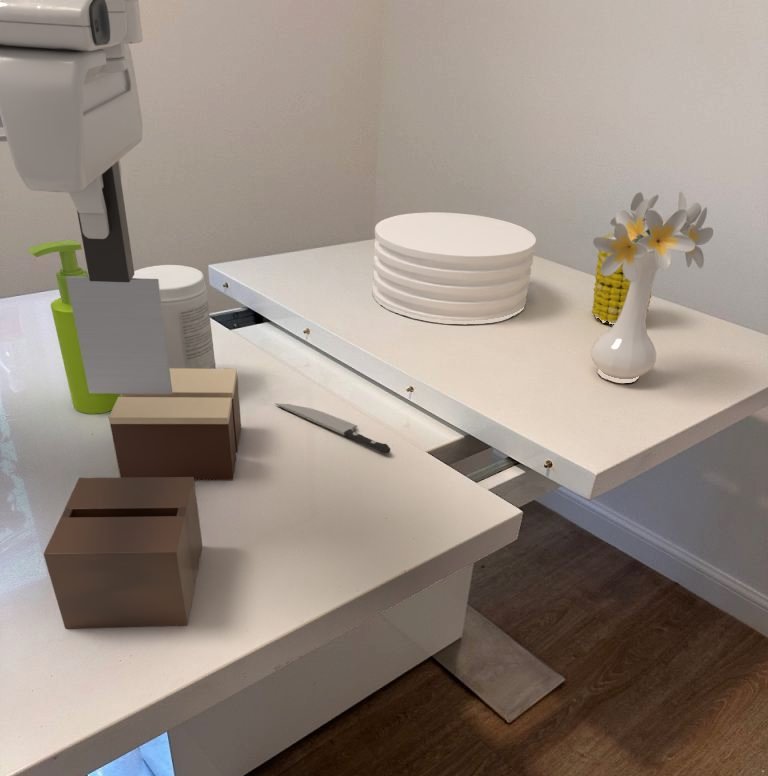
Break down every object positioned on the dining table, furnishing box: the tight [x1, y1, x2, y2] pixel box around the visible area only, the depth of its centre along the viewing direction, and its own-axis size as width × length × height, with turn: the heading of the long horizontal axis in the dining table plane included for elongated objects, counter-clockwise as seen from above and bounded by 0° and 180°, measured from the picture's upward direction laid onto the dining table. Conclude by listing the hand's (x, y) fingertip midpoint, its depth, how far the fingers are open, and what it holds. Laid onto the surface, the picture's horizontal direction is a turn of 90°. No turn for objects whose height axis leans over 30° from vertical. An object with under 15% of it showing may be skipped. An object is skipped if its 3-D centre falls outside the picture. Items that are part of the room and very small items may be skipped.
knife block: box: [43, 476, 203, 629], centre depth 62 cm, size 10×11×8 cm
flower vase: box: [589, 190, 714, 379], centre depth 99 cm, size 13×18×25 cm
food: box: [591, 232, 652, 323], centre depth 122 cm, size 15×12×10 cm
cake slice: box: [108, 397, 237, 481], centre depth 78 cm, size 12×5×8 cm, turn 95°
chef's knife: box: [274, 402, 391, 454], centre depth 90 cm, size 19×1×3 cm
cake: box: [121, 368, 242, 454], centre depth 83 cm, size 12×6×8 cm, turn 95°
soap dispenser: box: [26, 239, 121, 415], centre depth 86 cm, size 6×7×20 cm
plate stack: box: [372, 211, 537, 321], centre depth 128 cm, size 28×28×12 cm
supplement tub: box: [132, 264, 217, 369], centre depth 93 cm, size 10×10×15 cm
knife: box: [66, 161, 173, 395], centre depth 57 cm, size 7×2×19 cm, turn 94°
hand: (104, 230), depth 54 cm, fingers closed on knife, 2 cm apart
